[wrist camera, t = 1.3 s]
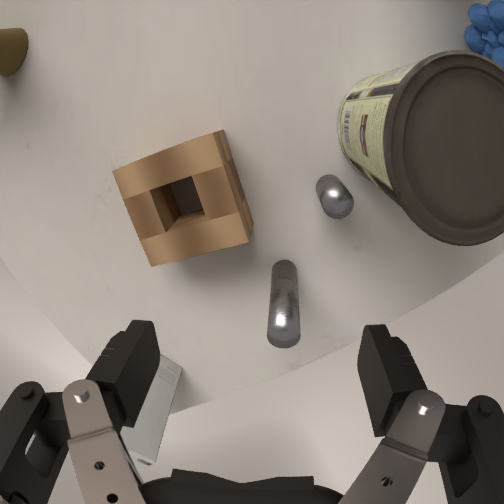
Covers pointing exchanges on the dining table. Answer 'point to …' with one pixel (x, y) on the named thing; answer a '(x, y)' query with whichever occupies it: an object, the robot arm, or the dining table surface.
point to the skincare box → (152, 416)
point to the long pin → (284, 306)
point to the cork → (12, 49)
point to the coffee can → (434, 142)
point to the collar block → (165, 207)
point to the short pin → (334, 197)
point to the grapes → (487, 30)
